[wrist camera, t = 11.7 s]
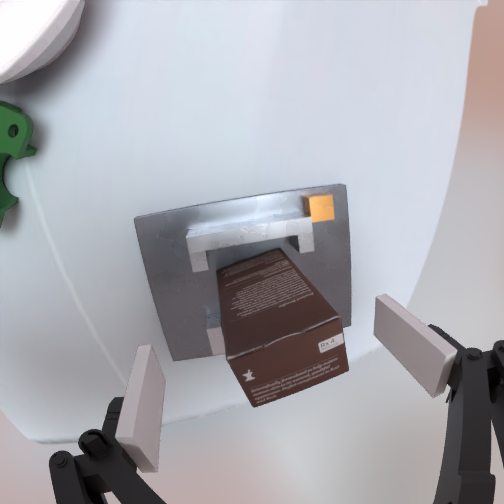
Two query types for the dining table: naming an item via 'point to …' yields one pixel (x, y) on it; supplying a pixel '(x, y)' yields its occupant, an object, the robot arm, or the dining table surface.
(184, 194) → the dining table surface
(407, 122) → the dining table surface
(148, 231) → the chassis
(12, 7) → the bowl
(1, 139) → the clamp
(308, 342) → the box
